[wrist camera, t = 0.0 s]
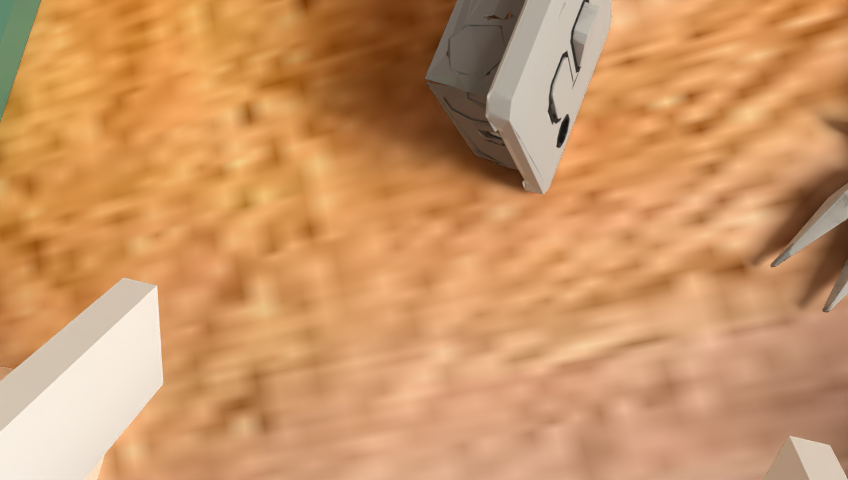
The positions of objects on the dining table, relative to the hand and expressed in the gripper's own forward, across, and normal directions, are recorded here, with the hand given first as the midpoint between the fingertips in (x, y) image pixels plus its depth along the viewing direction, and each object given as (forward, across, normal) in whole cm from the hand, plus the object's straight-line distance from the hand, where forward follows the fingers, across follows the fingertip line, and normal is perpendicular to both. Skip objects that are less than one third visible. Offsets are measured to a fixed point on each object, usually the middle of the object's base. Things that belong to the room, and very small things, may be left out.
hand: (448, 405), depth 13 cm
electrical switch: (+20, 0, -2) cm, 20 cm away
